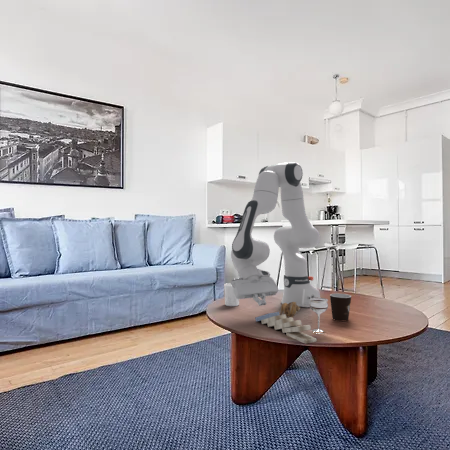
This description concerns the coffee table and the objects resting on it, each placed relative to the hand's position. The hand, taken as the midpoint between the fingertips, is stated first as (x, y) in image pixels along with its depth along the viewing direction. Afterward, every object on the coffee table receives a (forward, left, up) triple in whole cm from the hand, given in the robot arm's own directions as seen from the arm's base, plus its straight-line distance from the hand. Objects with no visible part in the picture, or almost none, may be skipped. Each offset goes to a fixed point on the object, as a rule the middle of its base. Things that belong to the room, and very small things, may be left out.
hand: (262, 304), depth 143 cm
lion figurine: (-10, +4, -7) cm, 13 cm away
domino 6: (0, +18, -7) cm, 20 cm away
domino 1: (0, -1, -6) cm, 6 cm away
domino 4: (0, +11, -6) cm, 13 cm away
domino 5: (0, +16, -6) cm, 17 cm away
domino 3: (0, +7, -6) cm, 9 cm away
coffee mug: (-33, +12, -7) cm, 36 cm away
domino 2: (0, +3, -6) cm, 7 cm away
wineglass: (-11, +20, -7) cm, 24 cm away
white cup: (-3, -31, -7) cm, 32 cm away
